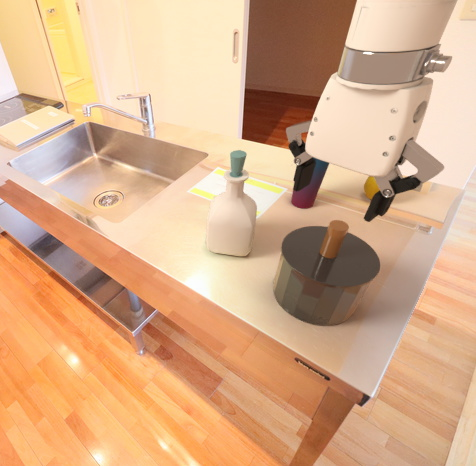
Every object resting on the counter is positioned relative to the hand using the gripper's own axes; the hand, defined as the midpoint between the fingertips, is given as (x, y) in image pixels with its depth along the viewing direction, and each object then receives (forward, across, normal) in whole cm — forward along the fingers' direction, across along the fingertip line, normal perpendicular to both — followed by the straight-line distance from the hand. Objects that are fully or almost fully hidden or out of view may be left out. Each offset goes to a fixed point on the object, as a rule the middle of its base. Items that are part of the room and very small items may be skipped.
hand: (334, 200), depth 44 cm
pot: (+24, 0, -4) cm, 24 cm away
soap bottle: (+24, +20, -4) cm, 31 cm away
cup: (+24, +18, -28) cm, 41 cm away
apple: (+24, +7, -41) cm, 48 cm away
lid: (+13, 0, -4) cm, 14 cm away
